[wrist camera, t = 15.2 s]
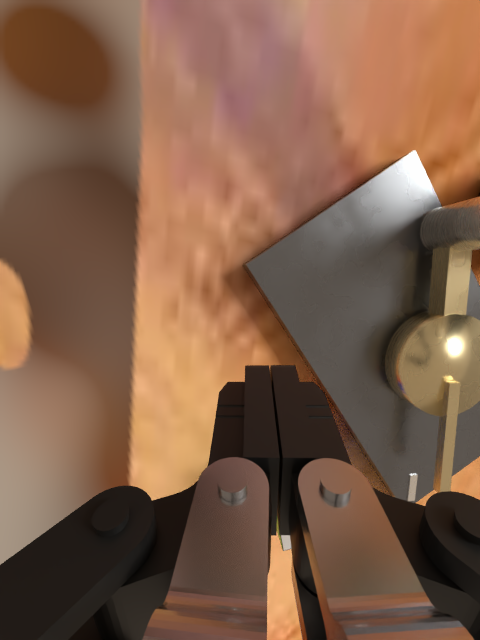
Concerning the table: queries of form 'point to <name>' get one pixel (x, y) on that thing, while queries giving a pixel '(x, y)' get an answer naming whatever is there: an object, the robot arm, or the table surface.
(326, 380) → the stand base
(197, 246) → the table surface
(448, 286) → the crank handle
